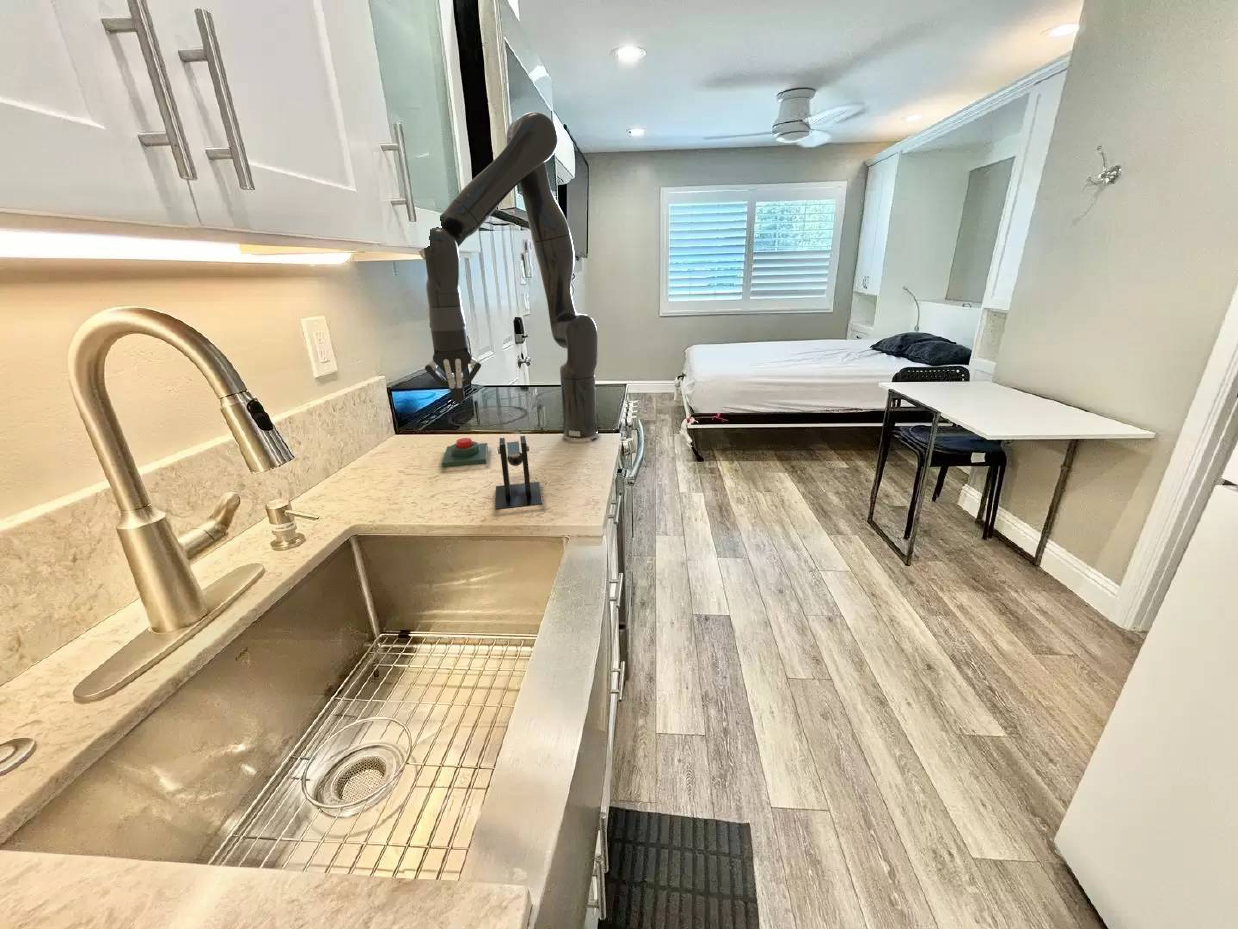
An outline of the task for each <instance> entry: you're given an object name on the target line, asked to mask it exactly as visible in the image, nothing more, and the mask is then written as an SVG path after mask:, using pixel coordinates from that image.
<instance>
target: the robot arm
mask: <svg viewBox="0 0 1238 929" xmlns="http://www.w3.org/2000/svg"><path fill="white" fill-rule="evenodd" d="M558 138H559V136H558V131H557V127H556V125H555V123H554V122H553V120H552V119H551V118H550V117H549V116H547V115H546V113H545V114H544V113H543V112H539V111H531V112H527V113H524V114H523V115H521V116H519V117H518V118H516V119H515V120H513V121H512V122H511V123H510V124H509V126H508V128H507V130H506V134H505V142H506V144H505V145H506V146H505V147H504V149H503V150H502V151H501V152H500V153H499V154H498V155H497V157H496V158H495V159H494V160H493V161H492V162H491V163H490V164H488V165H487V166H486V167H484V169H482V171H481V172H479V173H478V174H477V175H476V176H475V177H473V179H471V181H470V182H468V183H467V185H465V187H464V188H462V189H461V191H460V192H459V193H458V194H457V195H456V196H455V197H454V198H453V199H452V201H451V202H450V203H449V205H448V206H447V208H446V209H445V210H444V211H443V212H442V213H441V214H440V215H439V216H440V221H441V226H442V228H439V227H436V228H432V229H430V236H429V240H430V246H428V247H427V248H424V249H422V250H421V251H418V254H419V256H420V257H421V258H422V260H423V261H425V268H426V275H427V279H426V282H425V292H426V299H427V305H428V320H429V328H430V334H431V341H432V346H433V355H432V360H431V361H430V362H429V363H426V365H425V366H424V370H425V371H426V372H427V373H428V374H429V375H430V376H431V377H432V378H433V379H434V380H435V381H436V382H437V383H438V384H439V385H440V386H442V387H446V388H448V389H449V390H450V397H451V401H452V402H453V403H454V404H455V405H462V404H463V402H464V401H465V398H466V396H465V390H464V388H465V387H466V386H469V385H470V384H471V383H472V381H473V380H474V378H475V377H476V376H477V374H478V373H479V371H480V369H481V367H482V366H483V364H482V362H481V361H480V360H476V359H475V358H474V357H473V354H472V353H471V352H470V348H469V339H468V333H467V325H466V317H465V312H464V308H463V302H462V294H461V286H460V253H459V252H460V251H459V247H460V246H461V245H462V244H463V242H464V241H465V240H466V239H468V238H469V237H470V236H473V234H475V233H476V232H477V231H478V230H479V229H480V228H481V227H482V226H483V224H484V223H485V222H486V221H487V220H488V218H489V217H490V216H491V215H492V214H493V213H494V211H496V209H497V208H498V207H499V206H500V205H501V204H502V202H504V200H505V199H506V198H507V196H508V195H509V194H510V193H511V192H512V191H513V190H514V189H515V188H516V187H517V186H519V189H520V192H521V196H522V200H523V205H524V209H525V214H526V218H527V222H528V227H529V231H530V236H531V241H532V245H533V249H534V252H535V257H536V260H537V263H538V268H539V272H540V277H541V281H542V285H543V289H544V293H545V298H546V304H547V310H548V320H549V325H550V331H551V335H552V338H553V340H554V342H555V343H556V344H557V345H558V346H559V347H561V348H562V349H566V351H567V352H566V353H567V354H566V358H567V359H566V361H565V363H563V364H561V365H560V367H559V378H560V379H559V380H560V391H561V393H560V394H561V406H562V407H561V410H562V423H563V424H562V425H563V439H564V440H565V441H569V440H570V441H571V440H579V439H580V440H581V439H590V440H591V441H593V440H595V439H598V422H597V421H598V420H597V394H596V393H597V392H596V373H595V372H596V367H597V365H598V339H599V338H598V329H597V328H598V327H597V324H596V323H595V321H594V318H592V316H590V315H588V314H585V313H577V311H576V308H575V305H574V300H573V296H572V295H573V294H572V281H573V275H574V271H575V270H574V268H575V260H576V256H575V249H574V244H573V239H572V238H573V237H572V234H571V229H570V225H569V223H568V221H567V218H566V216H565V214H564V212H563V210H562V209H561V207H560V205H559V203H558V201H557V199H556V197H555V195H554V193H553V190H552V188H551V184H550V180H549V179H550V178H549V176H548V169H547V163H546V162H547V161H549V160H550V159H551V158H552V157H553V156H554V154H555V152H556V150H557V148H558V142H559V139H558ZM469 364H470V369H471V370H470V372H469V373H468V374H467V376H466V377H465V378H464V372H465V371H466V369H467V367H468V366H469ZM438 368H439V369H440V370H441V371H442V372H443V373H444V374H446V378H445V377H444V376H443V375H442V373H440V372H439V371H438ZM455 377H456V378H455Z"/></svg>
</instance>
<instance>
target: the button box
mask: <svg viewBox="0 0 1238 929" xmlns="http://www.w3.org/2000/svg"><path fill="white" fill-rule="evenodd" d="M488 452H489V444H488V442H482V443H481V442H480V443H479V442H477V441H474V440H472V447H469V448H462V449H461V448H457V443H456V442H455V443H453V444H452V445H447V446H446V448H445V452H444V454H443V458H442V461H441V467H442V469H445V468H456V467H457V468H458V467H466V466H476V465H477V466H478V465H486V464H487V462H488Z"/></svg>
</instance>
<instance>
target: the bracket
mask: <svg viewBox="0 0 1238 929" xmlns="http://www.w3.org/2000/svg"><path fill="white" fill-rule="evenodd" d="M519 439H520V440H519V441H520V449H521V450H520V451H521V453H522V460H523V462H522V469H523V479H524V482H523V483H522V482H521V483H513V484H512V483H511V482H510V472H509V462H508V460H507V457H508V452H507V443H506V438H505V437H499V444H498V445H499V446H497V454H498V455H500V462H501V470H502V479H503V485H502V484H501V485H496V486H495V506H494V510H495V511H497V510H498V511H499V510H506V509H514V508H523V507H531V506H532V507H533V506H541V505H543V497H542V491H541V484H540V481H532V482H531V478H530V470H529V459H528V458H529V456H528V452H530V444H529V443H527V438H526V435H520V436H519Z"/></svg>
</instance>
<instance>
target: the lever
mask: <svg viewBox="0 0 1238 929" xmlns="http://www.w3.org/2000/svg"><path fill="white" fill-rule="evenodd" d="M519 441H520V440H519ZM519 441H518V440H516V441H507V442H506V449H507V462H508V465H511V466H513V467H518V466H521V465H522V464H523V460H522V451H521V450H520V443H519Z"/></svg>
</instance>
